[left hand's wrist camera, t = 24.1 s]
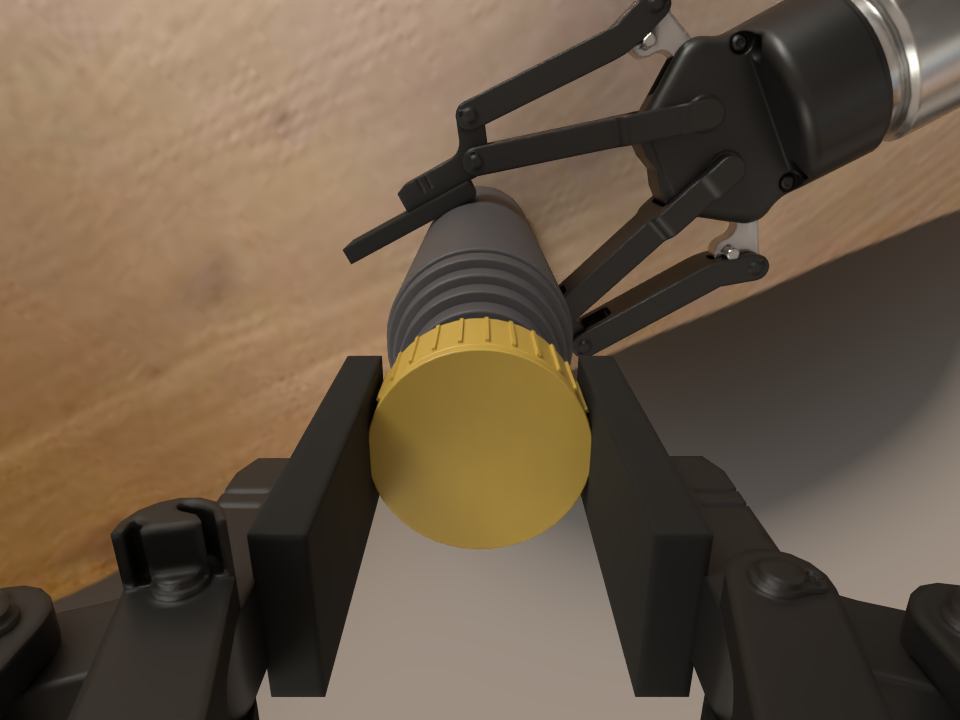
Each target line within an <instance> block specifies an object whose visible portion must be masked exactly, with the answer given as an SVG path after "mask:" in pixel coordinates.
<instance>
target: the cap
mask: <svg viewBox="0 0 960 720" xmlns="http://www.w3.org/2000/svg"><path fill="white" fill-rule="evenodd" d="M376 401H378V404H377V407H376V410H375V413H374V415H373V418H372V421H371V424H370V428H369V447H370V461H371V475H372V479H373V482H374V484H375V487H376V489H377V491H378V492H379V494H380V496H381V498H382V499H383V501H384V502H385V504H386V505H387V506H388V507H389V509H390V510H391V511H392V512H393V513H394V514H395V515H396V516H397V517H398V518H399V519H400V520H401V521H402V522H403V523H405V524H406V525H407V526H409V527H410V528H411V529H413V530H415V531H416V532H418V533H420V534H421V535H423V536H425V537H427V538H430V539H432V540H434V541H437V542H440V543H443V544H446V545H450V546H455V547H460V548H468V549H493V548H500V547H506V546H510V545H514V544H518V543H520V542H523V541H526V540H528V539H531V538H533V537H535V536H537V535H539V534H541V533H543V532H544V531H546V530H547V529H549V528H550V527H552V526H553V525H554V524H556V523H557V522H558V521H559V520H560V519H561V518H562V517H564V516H565V514H566V513H567V512H568V511H569V510H570V509H571V508H572V507H573V505H574V504H575V502H576V501H577V499H578V498H579V496H580V495H581V493H582V491H583V489H584V487H585V485H586V483H587V480H588V477H589V467H590V453H591V437H592V431H591V428H590V424H589V420H588V417H587V414H586V413H588V412H589V411H588V408H587V406H586V403H585V400H584V398H583V395H582V392H581V390H580V387H579V384H578V382H577V381H575V379H574V376H573V374H572V371H571V368H570V365H569V363H568V362H567V361H566V362H564V360H563V358H562V357H561V356H560V355H559V354H558V352H557V351H556V349H555V346H554V345H553V344H551V345H550V344H549V343H547V342H546V341H545V340H544V339H542V338H541V337H540V336H538V335H537V334H536V332H535V331H534V330H532V331H530V330H528V329H526V328H524V327H521V326H519V325H516V324H513V321H509V322H506V321H502V320H497V319H489V317H485V318H474V319H464V318H460V320H458V321H454V322H450V323H447V324H444V325H441V326H440V324H439V325H436V328H434V329H432V330H430V331H429V332H427V333H425V334H424V335H422V336H420V337H419V336H417V337H416V338H415V340H414V342H413V343H411V344H410V345H409V346H408V347H407V348H406V349H405V350H404V351H403V353H402V352H401V351H400V352H399V354H398V356H397V359H396V362H395V363H394V365H393V367H392V369H391V371H389V370H387V372H386V375H385V378H384V380H383V383H382V386H381V388H380V391H379V393H378V396H377V399H376Z"/></svg>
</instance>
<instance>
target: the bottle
mask: <svg viewBox="0 0 960 720" xmlns="http://www.w3.org/2000/svg"><path fill="white" fill-rule="evenodd" d="M475 189H476V197H475V198H473V199H471V200H469V201H467V202H466V203H464V204H462V205H460V206H458V207H456V208H454V209H452V210H450V211H449V212H447V213H445V214H443V215H442V216H440V217H438V218H436V219H434V220H433V221H432V223H431V225H430V228H429V230H428V232H427V234H426V236H425V238H424V240H423V242H422V244H421V246H420V248H419V250H418V253H417V255H416V257H415V259H414V261H413V263H412V265H411V267H410V269H409V271H408V273H407V275H406V278H405V280H404V282H403V284H402V286H401V288H400V290H399V292H398V294H397V296H396V298H395V300H394V303H393V306H392V308H391V311H390V315H389V320H388V325H387V347H388V358H389V362H390V367H391V369H392V367H393V365H394V363H395V362H396V359H397V356H398V354H399V352H400V351H401V352H402V353H403V351H404V350H405V349H406V348H407V347H408V346H409V345H410V344H411V343H413V342H414V340H415V338H416V337H417V336H419V337H420V336H422V335H424V334H425V333H427V332H429V331H430V330H432V329H434V328H436V325H439V324H440V326H441V325H444V324H447V323H450V322H454V321H458V320H460V318H464V319H474V318H485V317H489V319H497V320H502V321H506V322H509V321H513V324H516V325H519V326H521V327H524V328H526V329H528V330H530V331H532V330H534V331H535V332H536V334H537V335H538V336H540V337H541V338H542V339H544V340H545V341H546V342H547V343H549V344H550V345H551V344H553V345H554V346H555V349H556V351H557V352H558V354H559V355H560V356H561V357H562V358H563V360H564V362H566V361H567V362H568V363H569V365H570V364H571V358H572V347H573V326H572V319H571V315H570V311H569V308H568V305H567V303H566V300H565V298H564V296H563V294H562V292H561V290H560V288H559V286H558V283H557V281H556V279H555V277H554V275H553V273H552V271H551V269H550V267H549V265H548V263H547V261H546V259H545V256H544V254H543V252H542V250H541V248H540V246H539V244H538V242H537V240H536V238H535V236H534V234H533V232H532V229H531V227H530V225H529V223H528V221H527V219H526V217H525V215H524V213H523V211H522V210H521V208H520V207H519V205H518V204H517V203H516V202H515V201H514V200H513V199H512V198H511V197H510V196H508V195H507V194H505V193H503V192H502V191H499V190H497V189H494V188H490V187H483V186H479V187H475Z"/></svg>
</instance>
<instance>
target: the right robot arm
mask: <svg viewBox="0 0 960 720" xmlns="http://www.w3.org/2000/svg"><path fill="white" fill-rule="evenodd" d="M670 7H671V0H636V1H635V2H634V3H633V4H632V5H631V6H630V7H629V8H628V9H627V10H626V11H625V12H624V13H623V14H622V15H621V16H620V17H619V18H618V19H617V20H616V21H615V22H614V24H613V25H612V26H611V27H610V28H609V29H607V30H605V31H603V32H601V33H599V34H597V35H595V36H593V37H591V38H589V39H587V40H585V41H583V42H581V43H579V44H577V45H575V46H573V47H571V48H569V49H567V50H565V51H563V52H561V53H559V54H557V55H555V56H553V57H551V58H549V59H547V60H545V61H543V62H542V63H540V64H538V65H536V66H534V67H532V68H530V69H528V70H526V71H524V72H522V73H520V74H518V75H516V76H514V77H512V78H510V79H508V80H506V81H504V82H502V83H500V84H498V85H496V86H494V87H492V88H490V89H488V90H486V91H484V92H482V93H480V94H478V95H476V96H474V97H472V98H470V99H468V100H466V101H464V102H463V103H462V104H460V105H459V107H458V108H457V110H456V120H457V127H458V134H459V149H458V151H457V153H456V154H455V156H453V157H452V158H450V159H448V160H447V161H445V162H443V163H441V164H439V165H438V166H436V167H434V168H432V169H430V170H429V171H427V172H425V173H423V174H421V175H420V176H418V177H416V178H414V179H412V180H411V181H409V182H407V183H406V184H405V185H404V186H403V188H402V189H401V190H400V191H399V193H398V196H399V198H400V199H401V201H402V203H403V205H404V207H405V208H406V210H407V211H405V212H403V213H401V214H400V215H398V216H396V217H394V218H392V219H390V220H389V221H387V222H385V223H383V224H381V225H380V226H378V227H376V228H374V229H372V230H370V231H369V232H367V233H365V234H363V235H361V236H359V237H358V238H356V239H354V240H353V241H352V242H351V243H350V244H348V245H347V246H346V247H345V248H344V249H343V251H344V253H345V255H346V256H347V258H348V260H349V261H350V263H351V264H353V263H355V262H357V261H358V260H360V259H362V258H364V257H366V256H368V255H369V254H371V253H373V252H375V251H377V250H379V249H381V248H382V247H384V246H386V245H388V244H390V243H392V242H393V241H395V240H397V239H399V238H401V237H403V236H405V235H406V234H408V233H410V232H412V231H414V230H416V229H417V228H419V227H421V226H423V225H425V224H427V223H429V222H430V221H432V220H434V219H436V218H438V217H440V216H442V215H443V214H445V213H447V212H449V211H450V210H452V209H454V208H456V207H458V206H460V205H462V204H464V203H466V202H467V201H469V200H471V199H473V198H475V197H476V189H475V187H474V185H473V183H472V181H471V179H473V178H475V177H477V176H481V175H486V174H490V173H495V172H500V171H505V170H510V169H515V168H519V167H524V166H529V165H534V164H539V163H543V162H548V161H553V160H558V159H563V158H568V157H572V156H577V155H582V154H587V153H592V152H597V151H601V150H606V149H611V148H616V147H623V146H630V145H632V146H633V149H634V151H635V153H636V155H637V157H638V158H639V159H640V160H641V162H642V163H643V164H644V165H645V167H646V168H647V174H648V182H649V187H650V189H651V192H652V194H653V196H652V197H651V198H650V199H649V200H647V201H646V202H645V203H644V204H643V205H642V206H641V207H640V209H639V210H638V212H637V214H636V215H635V216H634V217H633V218H632V219H631V220H629V221H628V222H627V223H626V224H625V225H624V226H623V227H622V228H621V229H620V230H619V231H617V232H616V233H615V234H614V235H613V236H612V237H611V238H610V239H609V240H608V241H607V242H605V243H604V244H603V245H602V246H601V247H600V248H599V249H598V250H597V251H596V252H595V253H593V254H592V255H591V256H590V257H589V258H588V259H587V260H586V261H585V262H584V263H583V264H581V265H580V266H579V267H578V268H577V269H576V270H575V271H574V272H573V273H572V274H571V275H569V276H568V277H567V278H566V279H565V280H564V281H563V282H562V283H561V284H560V285H559V288H560V290H561V292H562V294H563V296H564V298H565V300H566V303H567V305H568V308H569V311H570V315H571V319H572V326H573V347H572V350H573V352H574V353H575V355H576V356H578V357H579V356H592V355H594V354H595V353H597V352H599V351H601V350H603V349H605V348H607V347H609V346H610V345H612V344H614V343H616V342H618V341H620V340H622V339H623V338H625V337H627V336H629V335H631V334H633V333H635V332H637V331H638V330H640V329H642V328H644V327H646V326H648V325H650V324H652V323H653V322H655V321H657V320H659V319H661V318H663V317H665V316H666V315H668V314H670V313H672V312H674V311H676V310H678V309H680V308H681V307H683V306H685V305H687V304H689V303H691V302H693V301H694V300H696V299H698V298H700V297H702V296H704V295H706V294H708V293H709V292H711V291H713V290H715V289H717V288H719V287H721V286H727V285H732V284H738V283H743V282H749V281H755V280H758V279H761V278H762V277H764V276H765V275H766V273H767V272H768V269H769V263H768V260H767V259H766V258H765V257H764V256H762V255H759V242H758V220H759V219H760V218H762V217H763V216H764V215H765V214H766V213H767V212H768V211H769V209H770V208H771V207H772V206H773V204H774V203H775V202H776V201H777V200H778V199H780V198H781V197H782V196H784V195H785V194H787V193H789V192H791V191H793V190H795V189H798V188H800V187H802V186H804V185H806V184H808V183H810V182H812V181H814V180H816V179H818V178H820V177H822V176H824V175H826V174H828V173H830V172H832V171H834V170H836V169H838V168H840V167H842V166H844V165H846V164H848V163H850V162H852V161H854V160H856V159H858V158H860V157H862V156H864V155H866V154H868V153H870V152H872V151H874V150H875V149H876V148H877V147H878V146H879V145H880V143H881V142H882V141H886V142H890V141H894V140H897V139H900V138H902V137H904V136H905V135H907V134H909V133H911V132H913V131H915V130H917V129H919V128H921V127H923V126H925V125H927V124H929V123H931V122H933V121H934V120H936V119H938V118H940V117H942V116H944V115H946V114H948V113H950V112H952V111H954V110H956V109H958V108H960V0H784V1H782V2H780V3H778V4H777V5H775V6H773V7H771V8H769V9H767V10H766V11H764V12H762V13H760V14H758V15H756V16H755V17H753V18H751V19H749V20H747V21H745V22H744V23H742V24H740V25H738V26H736V27H735V28H733V29H731V30H729V31H727V32H725V33H723V34H721V35H719V36H698V37H694V38H691V37H690V36H689V34H688V33H687V32H686V31H685V29H684V28H683V27H682V26H681V24H680V23H679V22H678V21H677V19H676V18H675V17H674V15H673V14H672V13H671V12H670ZM627 52H628V53H629V54H630V55H631V56H632V57H633V58H636V59H643V58H646V57H649V56H650V55H652V54H654V53H661V54H663V55H665V56H666V57H667V60H666V62H665V63H664V65H663V67H662V69H661V71H660V73H659V75H658V76H657V78H656V80H655V82H654V84H653V86H652V88H651V89H650V91H649V93H648V95H647V97H646V99H645V100H644V102H643V104H642V106H641V108H640V110H639V111H635V112H631V113H626V114H621V115H616V116H612V117H607V118H604V119H599V120H594V121H589V122H585V123H580V124H575V125H570V126H566V127H561V128H556V129H551V130H547V131H542V132H537V133H533V134H528V135H523V136H518V137H514V138H509V139H504V140H499V141H495V142H490V143H487V137H486V129H485V124H487V123H489V122H491V121H493V120H495V119H497V118H499V117H501V116H503V115H505V114H507V113H509V112H511V111H513V110H515V109H517V108H519V107H521V106H523V105H525V104H527V103H529V102H531V101H533V100H535V99H537V98H539V97H541V96H543V95H545V94H547V93H549V92H551V91H553V90H556V89H558V88H560V87H562V86H564V85H566V84H568V83H570V82H572V81H574V80H576V79H578V78H580V77H582V76H584V75H586V74H588V73H590V72H592V71H594V70H596V69H598V68H600V67H602V66H604V65H606V64H608V63H610V62H612V61H614V60H616V59H617V58H619V57H621V56H623V55H624V54H626V53H627ZM696 217H701V218H708V219H714V220H721V221H728V222H729V226H728V229H727V230H726V232H725V233H723V234H722V235H720V236H718V237H716V238H714V239H713V240H712V241H711V243H710V244H709V248H708V251H705V252H702V253H699V254H696V255H693V256H691V257H689V258H687V259H685V260H683V261H681V262H680V263H678V264H676V265H674V266H672V267H671V268H669V269H667V270H665V271H663V272H661V273H660V274H658V275H656V276H654V277H652V278H651V279H649V280H647V281H645V282H643V283H641V284H640V285H638V286H636V287H634V288H632V289H630V290H629V291H627V292H625V293H623V294H621V295H620V296H618V297H616V298H614V299H612V300H610V301H609V302H607V303H605V304H603V305H601V306H600V307H598V308H596V309H594V310H592V311H590V312H589V313H587V314H585V315H583V316H581V315H582V314H583V313H584V312H585V311H587V310H588V309H589V308H590V307H591V306H592V305H593V304H594V303H596V302H597V301H598V300H599V299H600V298H601V297H602V296H603V295H605V294H606V293H607V292H608V291H609V290H610V289H611V288H612V287H613V286H615V285H616V284H617V283H618V282H619V281H620V280H621V279H622V278H624V277H625V276H626V275H627V274H628V273H629V272H630V271H631V270H633V269H634V268H635V267H636V266H637V265H638V264H639V263H640V262H642V261H643V260H644V259H645V258H646V257H647V256H648V255H649V254H651V253H652V252H653V251H654V250H655V249H656V248H657V247H658V246H660V245H661V244H662V243H663V242H664V241H666V240H667V239H670V238H672V237H674V236H676V235H677V234H678V233H679V232H681V231H682V230H683V229H684V228H685V227H686V226H687V225H688V224H690V223H691V222H692V221H693V220H694V219H695V218H696ZM580 316H581V317H580ZM579 317H580V318H579Z"/></svg>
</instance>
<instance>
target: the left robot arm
mask: <svg viewBox="0 0 960 720" xmlns="http://www.w3.org/2000/svg"><path fill="white" fill-rule="evenodd" d="M577 382H578V384H579V387H580V390H581V392H582V395H583V398H584V400H585V403H586V406H587V408H588V411H589V412H588V413H586V414H587V417H588V420H589V424H590V428H591V431H592V437H591V453H590V467H589V477H588V480H587V483H586V485H585V487H584V489H583V491H582V493H581V497H582V501H583V504H584V508H585V512H586V516H587V519H588V523H589V527H590V530H591V534H592V538H593V542H594V545H595V549H596V552H597V556H598V560H599V564H600V568H601V571H602V575H603V579H604V582H605V586H606V590H607V594H608V597H609V601H610V605H611V608H612V612H613V616H614V619H615V623H616V627H617V630H618V634H619V638H620V642H621V645H622V649H623V653H624V657H625V660H626V664H627V668H628V671H629V675H630V679H631V683H632V686H633V690H634V694H635V697H689V693H690V686H691V680H692V673H693V667H694V668H695V670H696V673H697V675H698V678H699V680H700V683H701V686H702V688H703V691H704V693H705V696H704V702H703V708H702V714H701V720H960V585H952V584H943V583H934V584H928V585H923V586H919V587H918V588H917V589H916V590H915V591H914V592H912V593H911V595H910V598H909V601H908V605H907V608H906V611H904V610H899V609H895V608H890V607H885V606H881V605H876V604H871V603H867V602H862V601H857V600H854V599H850V598H847V597H843V596H840V595H839V594H838V591H837V589H836V588H835V586H834V585H833V583H832V582H831V581H830V579H829V578H828V577H827V575H826V574H824V573H823V572H822V571H820V570H819V569H818V568H816V567H815V566H814V565H812V564H811V563H809V562H807V561H805V560H803V559H800V558H798V557H796V556H794V555H792V554H788V553H784V552H780V550H779V549H778V548H777V546H776V545H775V543H774V542H773V540H772V539H771V537H770V536H769V535H768V533H767V532H766V530H765V529H764V527H763V526H762V525H761V523H760V522H759V520H758V519H757V517H756V516H755V515H754V513H753V512H752V510H751V509H750V507H749V506H746V502H745V500H744V499H743V498H742V496H741V495H740V493H739V492H736V487H735V486H734V485H733V483H732V482H731V480H730V479H729V477H728V476H727V475H726V473H725V472H724V471H723V470H722V469H720V468H719V467H717V466H716V465H714V464H713V463H711V462H710V461H709V460H707V459H706V458H704V457H703V456H669V455H668V453H667V451H666V450H665V448H664V446H663V444H662V442H661V441H660V439H659V437H658V435H657V434H656V432H655V430H654V428H653V427H652V425H651V423H650V421H649V419H648V418H647V416H646V414H645V412H644V411H643V409H642V407H641V405H640V404H639V402H638V400H637V398H636V397H635V395H634V393H633V391H632V389H631V388H630V386H629V384H628V382H627V381H626V379H625V377H624V375H623V374H622V372H621V370H620V368H619V366H618V365H617V363H616V361H615V359H614V358H613V356H579V358H578V375H577ZM382 383H383V368H382V356H348V357H347V358H346V360H345V362H344V364H343V365H342V367H341V369H340V371H339V373H338V374H337V376H336V378H335V380H334V381H333V383H332V385H331V387H330V388H329V390H328V392H327V394H326V396H325V397H324V399H323V401H322V403H321V404H320V406H319V408H318V410H317V411H316V413H315V415H314V417H313V418H312V420H311V422H310V424H309V426H308V427H307V429H306V431H305V433H304V434H303V436H302V438H301V440H300V441H299V443H298V445H297V447H296V449H295V450H294V452H293V454H292V456H291V457H290V458H258V459H257V460H255V461H254V462H252V463H251V464H249V465H248V466H246V467H245V468H243V469H242V470H241V471H239V472H238V473H236V475H235V476H234V478H233V479H232V481H231V482H230V484H229V485H228V486H227V488H226V489H225V494H222V495H221V496H220V498H219V499H218V501H217V502H215V501H211V500H207V499H203V498H178V499H173V500H168V501H163V502H159V503H156V504H154V505H151V506H149V507H146V508H144V509H141V510H139V511H137V512H135V513H134V514H132V515H131V516H129V517H128V518H126V519H124V520H123V521H121V522H120V524H119V525H118V526H117V527H116V528H115V529H114V531H113V532H112V533H111V539H112V543H113V547H114V551H115V555H116V559H117V563H118V567H119V571H120V576H121V580H122V584H123V588H124V590H123V593H122V595H121V597H120V599H117V600H113V601H110V602H106V603H102V604H97V605H93V606H88V607H83V608H79V609H74V610H69V611H65V612H60V613H55V610H54V606H53V603H52V600H51V597H50V596H49V595H48V594H47V593H46V592H45V591H43V590H42V589H41V588H35V587H29V586H17V587H8V588H1V589H0V720H259V715H258V708H257V702H256V695H257V693H258V690H259V687H260V685H261V682H262V680H263V677H264V675H265V672H266V670H267V671H268V677H269V684H270V690H271V696H272V697H325V695H326V692H327V688H328V684H329V680H330V677H331V673H332V669H333V666H334V662H335V658H336V654H337V651H338V647H339V643H340V640H341V636H342V632H343V628H344V625H345V621H346V617H347V614H348V610H349V606H350V602H351V599H352V595H353V591H354V588H355V584H356V580H357V576H358V573H359V569H360V565H361V562H362V558H363V554H364V550H365V547H366V543H367V539H368V536H369V532H370V528H371V525H372V521H373V517H374V513H375V510H376V506H377V502H378V498H379V495H380V494H379V492H378V491H377V489H376V487H375V484H374V482H373V479H372V475H371V461H370V447H369V428H370V424H371V421H372V418H373V415H374V413H375V410H376V407H377V404H378V401H376V399H377V396H378V393H379V391H380V388H381V386H382Z"/></svg>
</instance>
